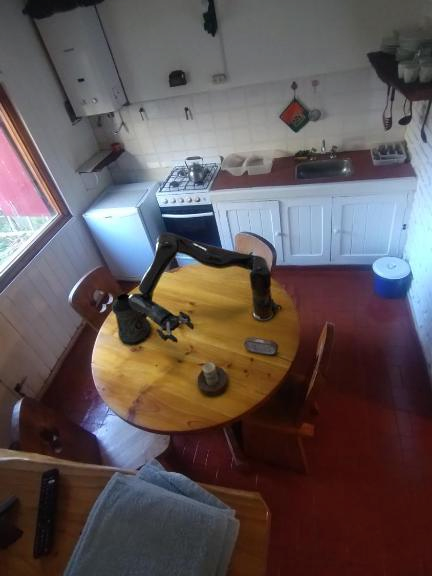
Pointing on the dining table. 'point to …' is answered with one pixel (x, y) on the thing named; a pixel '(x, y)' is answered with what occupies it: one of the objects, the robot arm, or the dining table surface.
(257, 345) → the tin
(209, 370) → the disc stack
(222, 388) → the stand
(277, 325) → the dining table surface
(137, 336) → the beer stein
